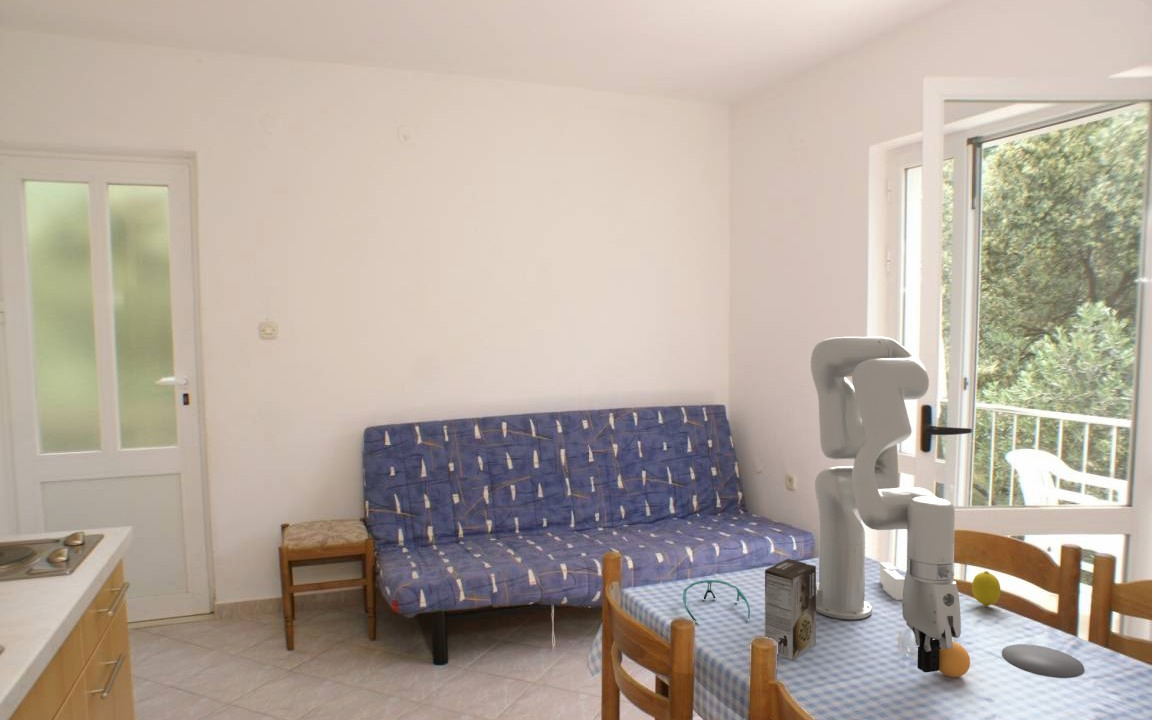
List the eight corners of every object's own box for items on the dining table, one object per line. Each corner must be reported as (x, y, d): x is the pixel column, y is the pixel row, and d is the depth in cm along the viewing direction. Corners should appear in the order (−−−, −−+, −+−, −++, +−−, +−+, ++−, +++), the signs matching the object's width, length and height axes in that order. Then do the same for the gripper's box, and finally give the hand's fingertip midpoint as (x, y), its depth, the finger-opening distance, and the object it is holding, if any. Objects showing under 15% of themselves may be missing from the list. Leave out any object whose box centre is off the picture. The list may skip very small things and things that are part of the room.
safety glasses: (738, 599, 171) (739, 578, 170) (756, 632, 156) (757, 610, 156) (678, 600, 171) (678, 579, 170) (689, 634, 156) (690, 611, 155)
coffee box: (787, 636, 150) (787, 557, 149) (817, 646, 145) (817, 565, 145) (763, 650, 144) (763, 568, 143) (793, 661, 139) (793, 576, 138)
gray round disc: (1008, 670, 135) (1009, 669, 135) (996, 641, 147) (996, 640, 147) (1093, 682, 130) (1093, 681, 130) (1073, 651, 142) (1073, 650, 142)
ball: (934, 648, 131) (963, 634, 132) (920, 650, 137) (949, 636, 137) (953, 682, 129) (983, 668, 129) (939, 683, 134) (968, 669, 135)
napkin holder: (911, 607, 166) (911, 582, 166) (859, 596, 173) (859, 572, 173) (927, 588, 178) (927, 564, 177) (878, 578, 185) (878, 555, 184)
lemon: (1003, 612, 161) (1004, 576, 161) (976, 610, 162) (977, 574, 162) (995, 603, 167) (995, 567, 166) (968, 601, 168) (968, 566, 167)
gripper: (979, 580, 125) (977, 687, 126) (920, 553, 139) (918, 649, 140) (940, 584, 123) (939, 692, 124) (884, 557, 138) (883, 653, 139)
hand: (928, 669), depth 132 cm, fingers closed
